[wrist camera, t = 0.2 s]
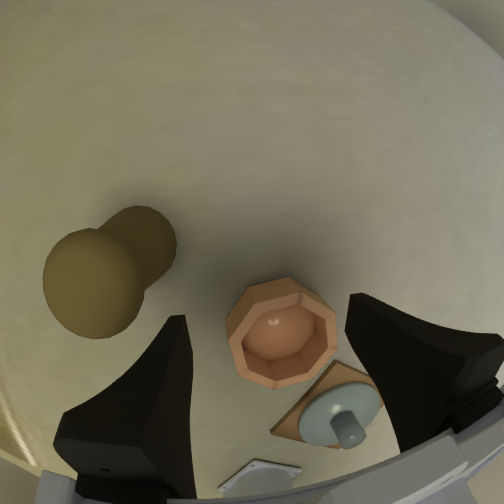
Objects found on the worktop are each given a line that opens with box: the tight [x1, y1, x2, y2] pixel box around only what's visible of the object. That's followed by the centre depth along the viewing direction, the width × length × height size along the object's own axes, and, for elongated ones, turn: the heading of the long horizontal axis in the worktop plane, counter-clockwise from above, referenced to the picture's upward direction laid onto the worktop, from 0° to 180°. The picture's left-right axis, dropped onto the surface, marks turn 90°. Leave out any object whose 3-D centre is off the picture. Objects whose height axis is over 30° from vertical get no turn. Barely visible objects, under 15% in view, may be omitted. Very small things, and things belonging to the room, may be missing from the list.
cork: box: [43, 206, 177, 339], centre depth 15 cm, size 6×6×11 cm
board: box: [270, 360, 384, 449], centre depth 27 cm, size 11×11×1 cm
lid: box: [298, 381, 380, 449], centre depth 25 cm, size 10×10×4 cm
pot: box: [226, 277, 338, 390], centre depth 22 cm, size 8×8×4 cm
